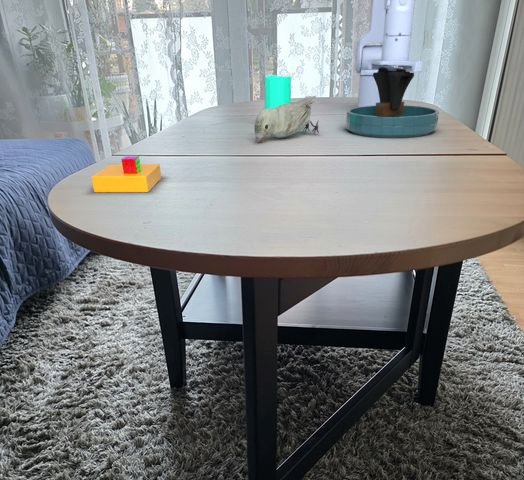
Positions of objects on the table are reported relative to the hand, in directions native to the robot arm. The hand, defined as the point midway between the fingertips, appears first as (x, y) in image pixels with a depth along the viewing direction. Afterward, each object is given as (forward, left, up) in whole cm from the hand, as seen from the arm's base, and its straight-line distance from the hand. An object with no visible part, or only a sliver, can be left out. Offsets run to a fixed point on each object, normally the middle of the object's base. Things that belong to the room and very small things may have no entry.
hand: (389, 108), depth 112 cm
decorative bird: (+20, -16, -4) cm, 26 cm away
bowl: (+3, +1, -4) cm, 5 cm away
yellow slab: (+64, -20, -4) cm, 67 cm away
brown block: (0, 0, -1) cm, 1 cm away
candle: (+7, -25, -4) cm, 26 cm away
